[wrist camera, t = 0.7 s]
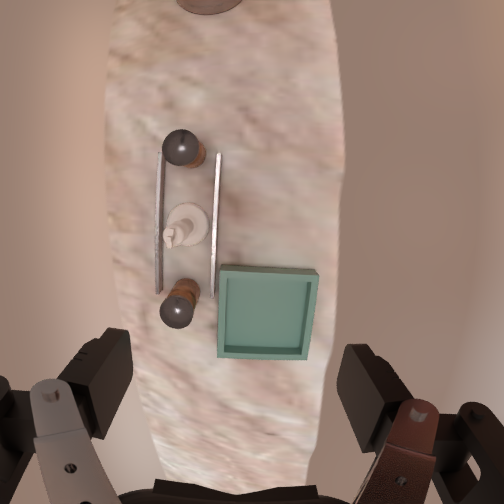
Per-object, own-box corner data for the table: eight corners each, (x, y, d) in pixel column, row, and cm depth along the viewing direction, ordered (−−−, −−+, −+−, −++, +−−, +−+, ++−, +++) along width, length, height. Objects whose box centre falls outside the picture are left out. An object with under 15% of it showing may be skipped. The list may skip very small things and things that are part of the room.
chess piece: (164, 241, 36) (138, 263, 26) (170, 199, 35) (144, 206, 25) (206, 248, 36) (193, 272, 26) (212, 206, 35) (201, 214, 25)
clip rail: (163, 139, 33) (146, 129, 26) (222, 140, 33) (218, 130, 27) (159, 302, 37) (144, 325, 31) (214, 306, 38) (209, 331, 31)
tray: (221, 264, 36) (219, 270, 34) (314, 269, 37) (319, 275, 35) (218, 347, 39) (217, 357, 36) (303, 350, 39) (306, 360, 37)
